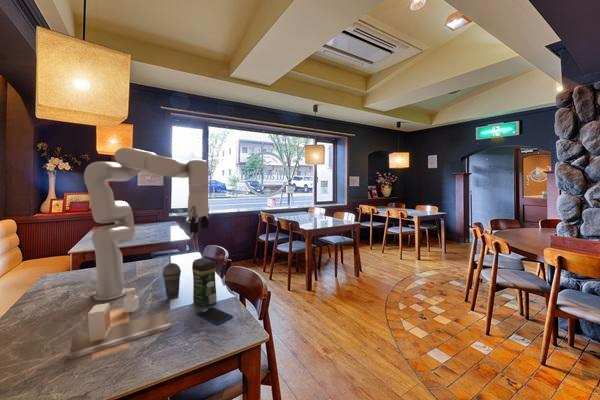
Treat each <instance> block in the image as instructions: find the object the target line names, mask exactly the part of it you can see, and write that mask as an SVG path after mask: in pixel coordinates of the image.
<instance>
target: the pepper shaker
mask: <svg viewBox="0 0 600 400" xmlns="http://www.w3.org/2000/svg"><path fill="white" fill-rule="evenodd" d="M136 292H137V291H136V287H130V288H128V289H127V290H126V294H125V297H124V298H123V300H122V302H123V303H122V305H123V313H134V312H136V311H137V310H138V309H139V308H140V302H139V301H140V300H139V298H140V297H139V295H136Z"/></svg>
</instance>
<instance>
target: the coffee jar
mask: <svg viewBox="0 0 600 400" xmlns="http://www.w3.org/2000/svg"><path fill="white" fill-rule="evenodd" d="M216 266H217V265H216V261H214V260H212V259H211V260H210V259H207V258H204V257H201V258H197V259H194V261H192V266H191V267H192V269H191V270H192V276H193V278H192V279H193V281H192V282H193V288H192V289H193V290H192V291H193V293H192V301H193V303H194V304H195V305H197V306H199V307H204V308H205V307H209V305H210V306H212V305H214V304H215V303H216V302H217V301H218V300H217V288H216V287H217V285H216V269H217V267H216Z"/></svg>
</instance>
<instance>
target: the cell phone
mask: <svg viewBox="0 0 600 400" xmlns="http://www.w3.org/2000/svg"><path fill="white" fill-rule="evenodd" d="M196 316H197V317H199V318H202V319H204V320H206V321H208V322H209V323H211V324H213V325H215V326H220V325H221V324H224V323H226V322H227V321H230V320H231V319H233V318H234V315H232V314H230V313H227V312H225V311H223V310H221V309H219V308H216V307H214V306H210V307H209V306H208V307H207V308H204V309H203V310H200V311H198V312H197V313H196Z"/></svg>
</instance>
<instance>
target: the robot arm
mask: <svg viewBox="0 0 600 400" xmlns="http://www.w3.org/2000/svg"><path fill="white" fill-rule="evenodd" d="M113 157H114V160H115V162H114V161H101V160H100V161H95V162H90V164H88V165H87V166H86V168H85V170H84V173H83V179H84V184H85V186H86V188H87V191H88V196H89V204H90V209H91V214H92V218H93V221H95V222H96V223H99V224H107V223H112V222H113V223H114V224H109V225H105V226H101V227H99V228H97V229H95V230H94V231H93V233H92V235H91V243H92V246H93V249H94V252H95V253H94V254H95V263H96V264H95V265H96V280H97V284H95V285H93V287H92V288H91V291H92V292H95V294H94V295H93V301H94V300H95V301H97V302H98V301H99V302H100V301H101V302H103V301H111V300H115V299H118V298H122V297H123V296H126V290H127V289H129V288H127V287H125V286H124V285H125V284H124V263H123V254H122V250H121V249H120V248H119V246H120V245H123V244H126V243H129V242H131V241H132V240H133V239H134V238H135V236H136V228H135V221H134V214H133V210H132V207H131V206H130V204H129V203H128V202H126V201H123V200H115V198H114V192H113V190H112V188H111V187H110V185H109V183H108V182H127V181H129V180H131V179H134V177H136V176H137V175H138V174H140V173H142V172H147V173H150V174H153V175H159V176H163V177H166V178H167V177H168V178H180V179H185V178H186V179H187V178H188V198H187V199H188V200H187V217H188V222H189V231H190V233H192V234H194V233H195V234H199V222H198V221H199V218H201V219H200V228H201V229H209V228H210V227H209V219H210V218H209V216H210V208H209V196H208V194H209V175H208V174H209V173H208V172H209V170H208V169H209V168H208V167H209V165H208V161H207V160H204V159H194V158H193V159H190V160H186V159H181V158H172V157H166V156H164V155H163V156H161V155H159V154H156V153H155V152H151V151H146V150H142V149H138V148H132V147H121V148H118V149H117V150H115V153H114V156H113Z"/></svg>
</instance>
